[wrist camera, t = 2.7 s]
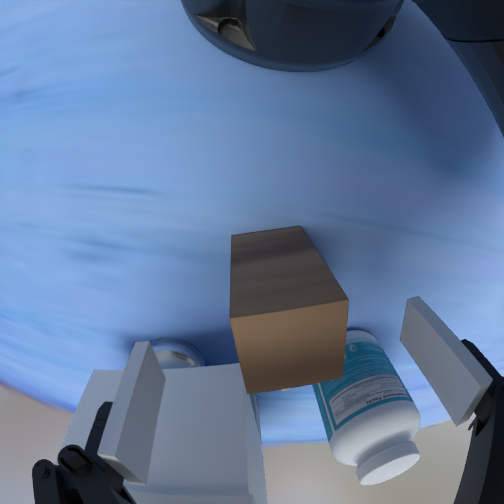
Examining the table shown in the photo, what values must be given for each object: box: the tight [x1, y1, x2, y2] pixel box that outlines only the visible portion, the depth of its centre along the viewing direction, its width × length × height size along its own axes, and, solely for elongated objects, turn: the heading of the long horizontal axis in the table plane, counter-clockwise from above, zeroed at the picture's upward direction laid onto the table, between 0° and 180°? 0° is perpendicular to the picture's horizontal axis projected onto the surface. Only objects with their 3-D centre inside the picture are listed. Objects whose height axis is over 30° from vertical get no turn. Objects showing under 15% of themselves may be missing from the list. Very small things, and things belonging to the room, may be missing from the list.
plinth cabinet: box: [55, 363, 268, 504], centre depth 19 cm, size 13×12×16 cm
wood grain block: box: [230, 226, 349, 394], centre depth 19 cm, size 14×5×10 cm, turn 8°
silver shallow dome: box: [150, 338, 205, 369], centre depth 24 cm, size 6×6×2 cm
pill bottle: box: [312, 330, 420, 485], centre depth 20 cm, size 8×7×14 cm
